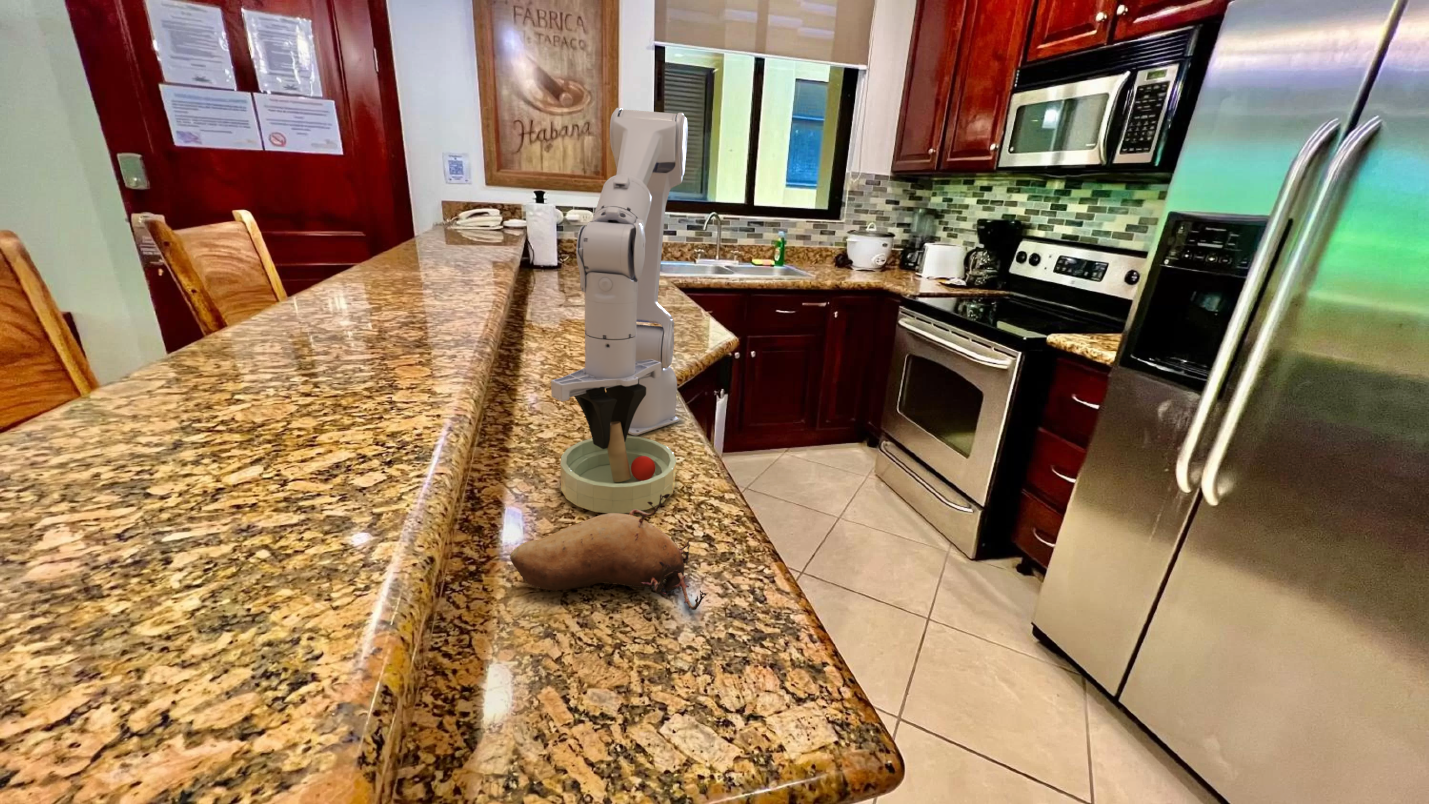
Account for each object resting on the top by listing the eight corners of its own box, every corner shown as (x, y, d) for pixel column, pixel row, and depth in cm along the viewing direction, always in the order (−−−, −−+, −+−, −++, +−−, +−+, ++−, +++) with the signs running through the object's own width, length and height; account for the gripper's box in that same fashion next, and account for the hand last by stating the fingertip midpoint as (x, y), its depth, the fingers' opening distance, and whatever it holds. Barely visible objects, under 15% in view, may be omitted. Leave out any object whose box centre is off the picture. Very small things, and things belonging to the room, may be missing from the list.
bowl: (625, 453, 75) (626, 426, 74) (696, 490, 67) (698, 461, 66) (538, 484, 66) (537, 454, 64) (609, 533, 58) (609, 499, 56)
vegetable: (496, 635, 40) (505, 494, 41) (510, 602, 50) (517, 491, 51) (709, 622, 44) (710, 495, 45) (681, 594, 54) (683, 491, 56)
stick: (633, 475, 67) (623, 420, 66) (627, 481, 65) (616, 424, 64) (617, 476, 68) (606, 422, 67) (610, 482, 66) (599, 426, 65)
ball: (644, 481, 69) (651, 458, 70) (655, 484, 66) (662, 460, 67) (623, 476, 67) (630, 452, 68) (634, 478, 65) (641, 454, 65)
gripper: (578, 351, 54) (579, 472, 59) (681, 333, 65) (675, 437, 70) (538, 336, 59) (542, 450, 63) (641, 321, 69) (638, 420, 74)
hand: (609, 442), depth 67 cm, fingers closed on stick, 2 cm apart
